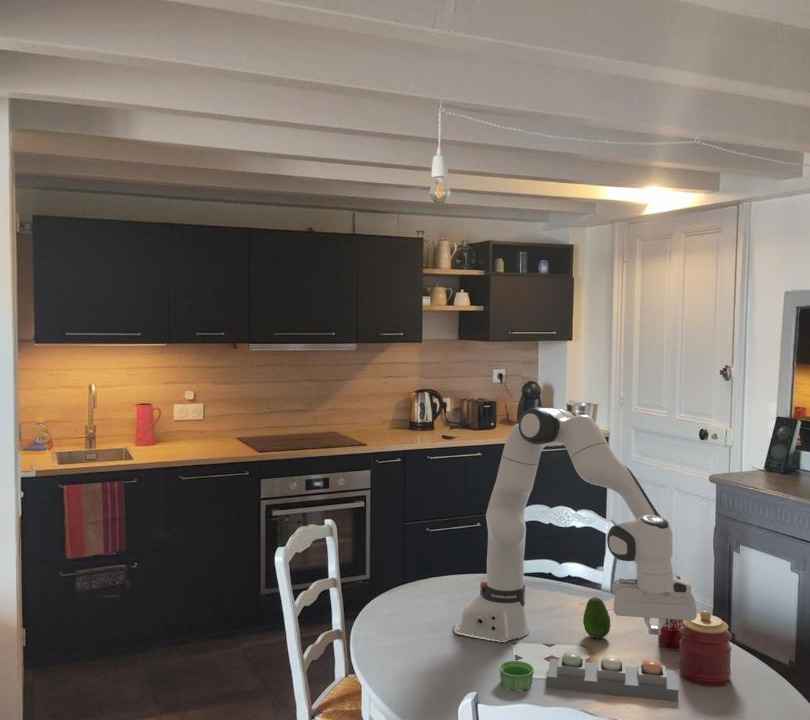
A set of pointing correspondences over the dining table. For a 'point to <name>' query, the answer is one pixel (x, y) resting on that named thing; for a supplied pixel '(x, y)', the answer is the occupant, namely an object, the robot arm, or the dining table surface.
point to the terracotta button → (651, 667)
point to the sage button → (572, 659)
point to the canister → (705, 650)
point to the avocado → (596, 618)
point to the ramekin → (516, 675)
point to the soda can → (670, 634)
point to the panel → (613, 680)
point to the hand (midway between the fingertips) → (654, 633)
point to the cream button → (611, 663)
